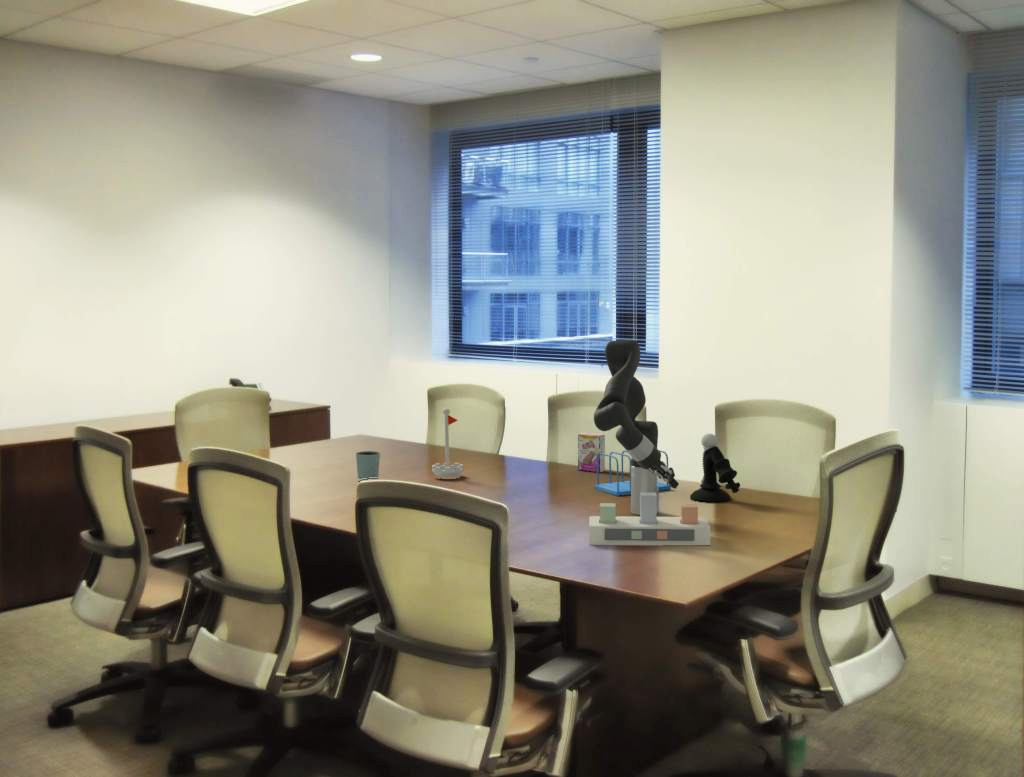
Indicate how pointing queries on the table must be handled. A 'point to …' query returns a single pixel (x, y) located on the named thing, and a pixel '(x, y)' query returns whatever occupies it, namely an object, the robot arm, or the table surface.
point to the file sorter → (623, 486)
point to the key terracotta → (689, 514)
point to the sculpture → (714, 474)
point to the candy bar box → (591, 452)
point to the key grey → (648, 508)
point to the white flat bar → (648, 532)
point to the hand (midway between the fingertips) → (675, 486)
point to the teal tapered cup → (367, 464)
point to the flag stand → (447, 453)
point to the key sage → (607, 512)
